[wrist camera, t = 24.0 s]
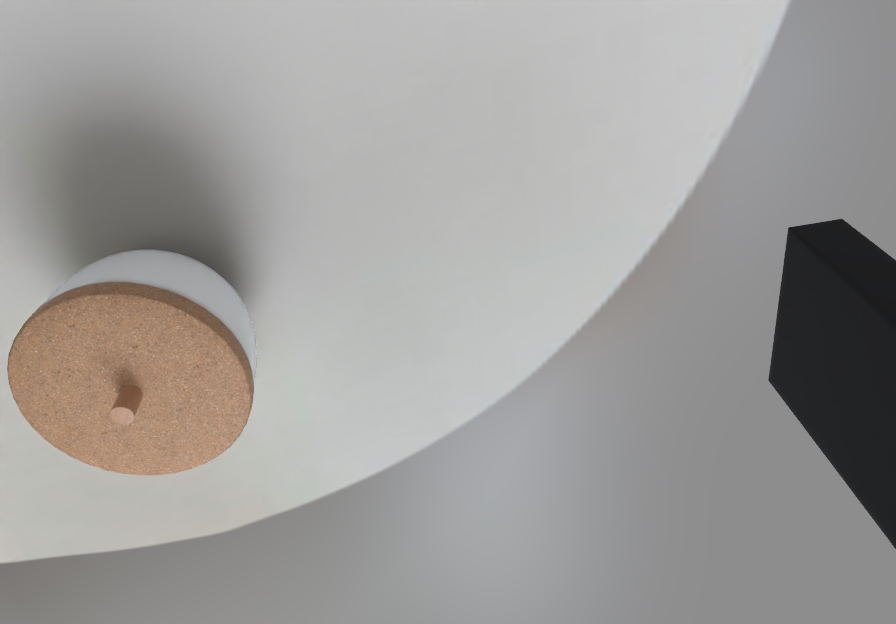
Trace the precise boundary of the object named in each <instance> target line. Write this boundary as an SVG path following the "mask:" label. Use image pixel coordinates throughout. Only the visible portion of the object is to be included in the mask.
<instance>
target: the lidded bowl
mask: <svg viewBox="0 0 896 624" xmlns="http://www.w3.org/2000/svg"><path fill="white" fill-rule="evenodd" d="M256 365H257V348H256V338H255V332H254V328H253V324H252V321H251V317H250V315H249V313H248V311H247V309H246V307H245V305H244V303H243V301H242V299H241V298H240V296H239V295H238V294H237V292H236V291H235V289H234V288H233V287H232V286H231V285H230V284H229V283H228V282H227V281H226V280H225V279H224V278H223V277H222V276H220V275H219V274H218V273H217V272H215V271H214V270H213V269H211V268H209V267H208V266H206V265H204V264H203V263H201V262H199V261H197V260H194V259H192V258H190V257H187V256H184V255H181V254H177V253H174V252H168V251H162V250H147V249H140V250H132V251H125V252H121V253H118V254H114V255H110V256H107V257H104V258H101V259H99V260H97V261H95V262H93V263H91V264H89V265H87V266H86V267H84V268H82V269H81V270H79V271H78V272H77V273H75V274H74V275H72V276H71V277H69V278H68V279H67V280H66V281H65V282H64V283H62V284H61V285H60V286H59V287H58V288H57V289H56V290H55V291H54V292H53V293H52V294H51V295H50V296H49V298H48V299H47V300H46V301H45V302H44V303H43V305H42V306H40V307H39V308H38V309H37V310H36V311H35V312H34V313H33V314H32V316H31V317H30V318H29V319H28V320H27V321H26V322H25V323H24V325H23V326H22V328H21V329H20V331H19V333H18V334H17V336H16V337H15V339H14V341H13V344H12V347H11V350H10V353H9V358H8V368H7V370H8V379H9V385H10V388H11V391H12V394H13V397H14V400H15V401H16V403H17V405H18V407H19V409H20V411H21V413H22V415H23V416H24V417H25V418H26V420H27V421H28V422H29V423H30V425H31V426H32V427H33V428H34V429H35V430H36V431H37V432H38V433H39V434H40V435H41V436H42V437H43V438H44V439H45V440H47V441H48V442H49V443H51V444H52V445H53V446H55V447H56V448H58V449H59V450H61V451H62V452H64V453H66V454H68V455H69V456H71V457H73V458H75V459H77V460H79V461H82V462H84V463H87V464H89V465H92V466H95V467H98V468H101V469H104V470H108V471H113V472H118V473H123V474H132V475H163V474H171V473H177V472H181V471H185V470H188V469H192V468H194V467H197V466H199V465H202V464H205V463H207V462H208V461H210V460H212V459H213V458H215V457H217V456H219V455H220V454H221V453H223V452H224V451H225V450H226V449H227V448H229V447H230V446H231V445H232V444H233V443H234V441H235V440H236V439H237V438H238V437H239V436H240V434H241V432H242V431H243V429H244V427H245V425H246V424H247V420H248V417H249V414H250V411H251V407H252V402H253V393H254V381H255V374H256Z"/></svg>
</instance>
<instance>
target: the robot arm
mask: <svg viewBox="0 0 896 624" xmlns="http://www.w3.org/2000/svg"><path fill="white" fill-rule="evenodd" d="M769 382H770V383H771V384H772V386H773V387H774V388H775V390H776V391H777V392H778V393H779V395H780V396H781V397H782V399H783V400H784V401H785V403H786V404H787V405H788V407H789V408H790V409H791V411H792V412H793V413H794V415H795V416H796V417H797V419H798V420H799V421H800V422H801V424H802V425H803V427H804V428H805V429H806V431H807V432H808V433H809V435H810V436H811V437H812V439H813V440H814V441H815V443H816V444H817V445H818V446H819V448H820V449H821V451H822V452H823V453H824V454H825V456H826V457H827V458H828V460H829V461H830V462H831V464H832V465H833V466H834V468H835V469H836V470H837V472H838V473H839V474H840V476H841V477H842V478H843V480H844V481H845V482H846V484H847V485H848V486H849V488H850V489H851V490H852V491H853V493H854V494H855V496H856V497H857V498H858V500H859V501H860V502H861V504H862V505H863V506H864V507H865V509H866V510H867V511H868V513H869V514H870V515H871V517H872V518H873V519H874V521H875V522H876V523H877V525H878V526H879V527H880V529H881V530H882V531H883V533H884V534H885V535H886V537H887V538H888V539H889V541H890V542H891V543H892V545H893V546H894V547H895V549H896V260H894V259H893V258H892V257H891V256H889V255H888V254H887V253H885V252H884V251H883V250H881V249H880V248H879V247H878V246H876V245H875V244H874V243H872V242H871V241H869V239H867V238H866V237H865V236H863V235H862V234H861V233H860V232H858V231H857V230H856V229H854V228H853V227H852V226H850V225H849V224H848V223H847V222H845V221H844V220H843V219H838V220H832V221H826V222H820V223H814V224H808V225H802V226H795V227H789V228H788V235H787V244H786V251H785V258H784V266H783V274H782V281H781V290H780V296H779V304H778V312H777V320H776V327H775V335H774V343H773V351H772V358H771V366H770V374H769Z"/></svg>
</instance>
